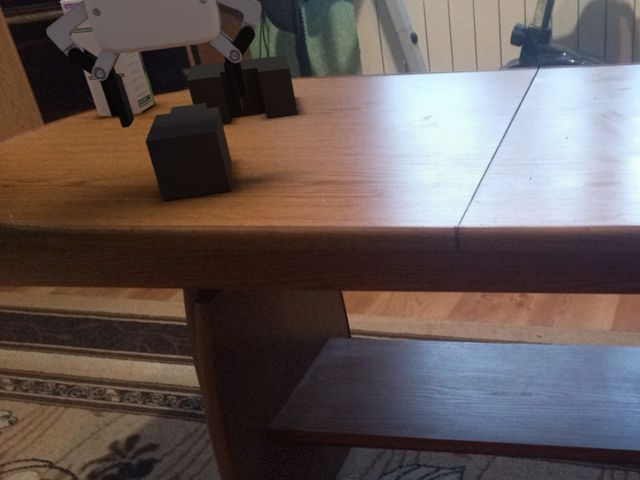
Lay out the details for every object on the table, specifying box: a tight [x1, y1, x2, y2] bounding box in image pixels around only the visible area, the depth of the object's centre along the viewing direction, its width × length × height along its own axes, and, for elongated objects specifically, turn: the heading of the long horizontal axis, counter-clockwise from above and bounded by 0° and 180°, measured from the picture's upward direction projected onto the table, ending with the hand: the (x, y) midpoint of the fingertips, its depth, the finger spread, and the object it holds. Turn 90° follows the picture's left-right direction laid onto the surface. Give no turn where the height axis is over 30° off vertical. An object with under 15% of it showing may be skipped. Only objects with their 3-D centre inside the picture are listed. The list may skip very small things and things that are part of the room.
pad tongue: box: [145, 103, 232, 202], centre depth 71 cm, size 6×13×6 cm, turn 15°
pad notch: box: [186, 54, 299, 125], centre depth 93 cm, size 12×10×6 cm
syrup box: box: [59, 0, 157, 117], centre depth 96 cm, size 6×6×14 cm
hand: (184, 115), depth 66 cm, fingers open, 9 cm apart
